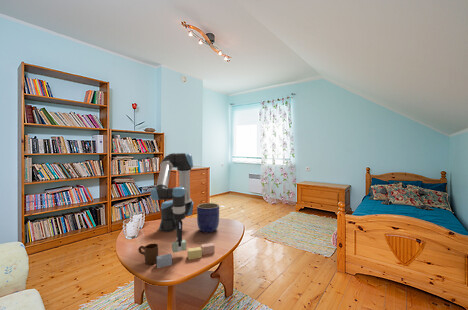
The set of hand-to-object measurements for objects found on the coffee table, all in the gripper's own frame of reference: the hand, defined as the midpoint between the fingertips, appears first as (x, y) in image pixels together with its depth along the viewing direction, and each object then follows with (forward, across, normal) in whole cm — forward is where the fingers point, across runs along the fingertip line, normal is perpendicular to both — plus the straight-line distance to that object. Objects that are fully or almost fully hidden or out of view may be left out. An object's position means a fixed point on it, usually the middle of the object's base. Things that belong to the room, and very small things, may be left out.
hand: (179, 249), depth 132 cm
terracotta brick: (+5, +2, +18) cm, 18 cm away
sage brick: (0, 0, 0) cm, 0 cm away
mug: (+4, +1, -18) cm, 19 cm away
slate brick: (+4, +8, -9) cm, 13 cm away
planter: (+6, -36, +27) cm, 46 cm away
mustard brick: (+4, +5, +9) cm, 11 cm away
